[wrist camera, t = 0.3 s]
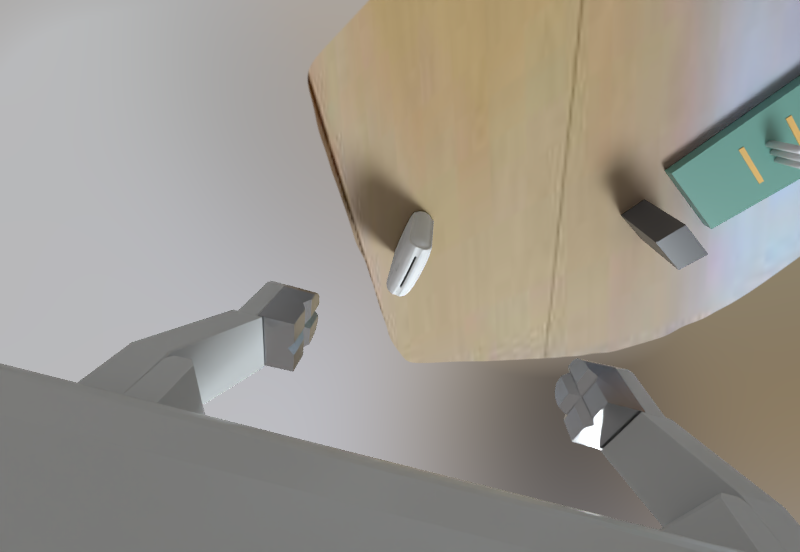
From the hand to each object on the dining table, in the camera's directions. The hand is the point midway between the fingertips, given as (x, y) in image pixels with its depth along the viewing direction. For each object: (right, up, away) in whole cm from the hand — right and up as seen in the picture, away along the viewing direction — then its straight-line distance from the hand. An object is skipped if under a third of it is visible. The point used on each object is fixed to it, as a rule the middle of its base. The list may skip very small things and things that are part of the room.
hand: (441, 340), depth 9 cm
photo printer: (+1, +9, +42) cm, 43 cm away
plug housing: (+36, +11, +36) cm, 52 cm away
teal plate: (+46, +19, +29) cm, 57 cm away
